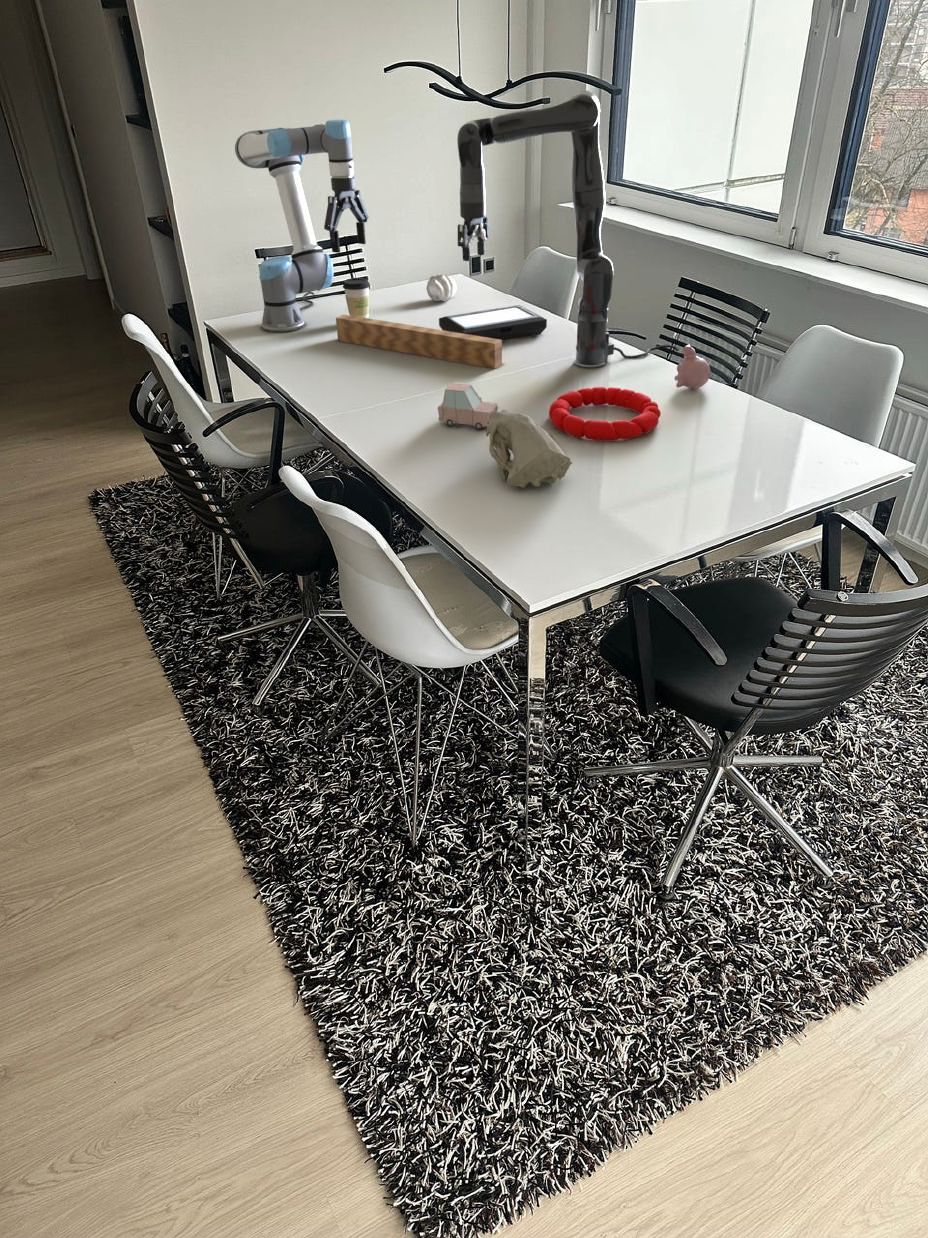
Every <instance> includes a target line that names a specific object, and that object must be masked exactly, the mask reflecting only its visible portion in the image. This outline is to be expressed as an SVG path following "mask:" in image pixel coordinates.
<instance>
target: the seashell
mask: <svg viewBox="0 0 928 1238" xmlns="http://www.w3.org/2000/svg"><path fill="white" fill-rule="evenodd" d="M426 292H427V295H428V297H429V298H430V299H431V300H432V301H435V302H440V301H441V302H442V301H443V302H445V301H449V300H451V299H452V298H453V296H454V295H455V294H456V292H457V283H456V281H455V279H454V278H453V277H451V275H447V274H436V275H431V276H430V277H429V279H428V281H427V284H426Z"/></svg>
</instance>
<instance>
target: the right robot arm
mask: <svg viewBox="0 0 928 1238" xmlns="http://www.w3.org/2000/svg"><path fill="white" fill-rule="evenodd" d="M600 114H601V104H600V100H599V99H598V97H597V96H596V95H595V94H594V93H593V92H591V91H589V90H579V91H577V92H576V93H574V94H573V95H572V96H571V97H570V99H568V100H567V101H565V102H562V103H559V104H557V105H554V106H549V107H545V108H537V109H528V110H517V111H513V112H508V113H503V114H499V115H496V116H493V117H486V118H479V119H473V120H470V121H466V122H465V123H464V124H462V125H461V126H460V127H459V129H458V132H457V138H456V139H457V140H456V141H457V152H458V159H459V181H460V182H459V183H460V184H459V214H460V217H461V218H462V219H463V224H457V247H460V248H461V249H462V261H464V262H470V261H471V244H472V242H473V241H474V239H475V238H476V240H477V242H476V244H477V245H476V246H477V251H476V253H477V255H478V256H484V255H486V241H487V240H488V239H489V238H490V225H489V223H490V222H489V221H490V220H489V216H488V217H487V216H486V215H487V205H486V203H487V202H486V201H487V199H486V198H487V197H486V193H487V192H486V185H485V183H486V182H485V164H484V161H483V147H486V146H489V145H494V144H498V145H500V144H507V143H508V144H509V143H513V142H517V141H521V140H525V139H530V138H533V137H538V136H543V135H548V134H557V133H571V134H570V135H571V141H572V166H571V195H572V204H573V214H574V215H573V216H574V224H575V232H576V260H575V261H576V262H575V263H576V273H577V276H578V277H579V279H580V280H581V281H582V282H583V283H582V294H581V296H580V297H579V298H578V301H577V302H578V303H577V324H576V325H577V327H576V345H575V365H576V366H578V367H582V368H587V369H588V368H589V369H591V368H592V369H594V368H599V367H603V366H604V365H605V364H608V362H609V361H608V358H609V356H612V355H614V353H615V351H617V352H619V354H620V355H621V356H622V357H623V358H624V359H637V358H641V357H645V356H647V355H648V354H649V353H650V352H651V351H656V350H659V349H665V348H668V349H669V348H671V349H673V350H675V351H676V352H679V351H680V349H679V348H678V347H677V346H675V345H671V344H662V345H658V346H654V347H649V348H647V350H646V351H645V352H644V353H640V354H635V355H627V354H625V353H624V351H623V350H622V349H621V348H619V347H617V346H615V344H614V343H612V342H610V333H609V332H608V315H609V304H610V301H611V298H612V293H613V283H614V266H613V262H612V261H611V259H610V258H608V257H607V256H606V255H604V254H603V248H602V240H601V239H602V238H601V229H602V223H603V219H604V214H605V208H606V190H605V179H604V170H603V163H602V156H601V150H600V138H599V137H600Z"/></svg>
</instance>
